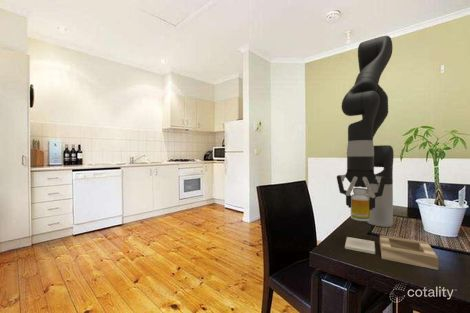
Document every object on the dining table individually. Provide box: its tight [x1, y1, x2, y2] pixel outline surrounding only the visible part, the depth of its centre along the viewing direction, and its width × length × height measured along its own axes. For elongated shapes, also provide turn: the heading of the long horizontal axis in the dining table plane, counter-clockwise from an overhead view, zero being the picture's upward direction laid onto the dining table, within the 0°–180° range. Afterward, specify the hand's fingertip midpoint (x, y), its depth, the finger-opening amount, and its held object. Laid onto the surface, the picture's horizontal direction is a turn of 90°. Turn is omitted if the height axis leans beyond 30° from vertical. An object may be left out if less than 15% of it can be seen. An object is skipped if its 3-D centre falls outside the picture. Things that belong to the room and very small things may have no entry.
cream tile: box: [344, 236, 376, 255], centre depth 71 cm, size 9×8×1 cm
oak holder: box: [379, 234, 439, 271], centre depth 65 cm, size 12×12×3 cm
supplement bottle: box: [350, 187, 370, 222], centre depth 71 cm, size 5×5×10 cm
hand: (360, 208), depth 71 cm, fingers closed on supplement bottle, 5 cm apart
